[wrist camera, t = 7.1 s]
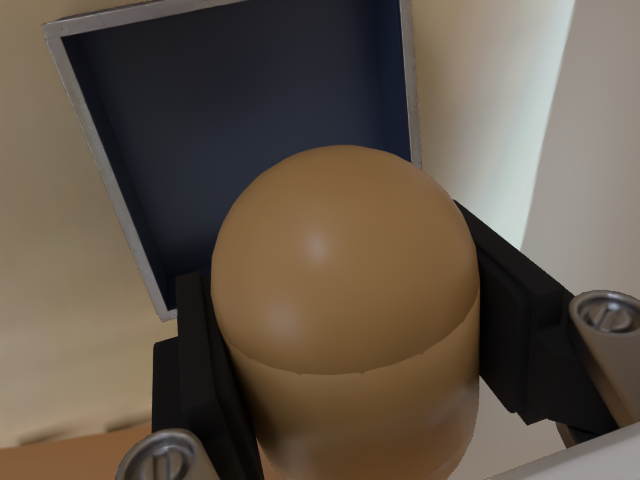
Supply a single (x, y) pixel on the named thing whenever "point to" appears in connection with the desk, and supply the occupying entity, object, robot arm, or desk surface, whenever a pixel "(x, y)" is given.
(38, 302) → the desk surface
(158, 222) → the square open-top storage box
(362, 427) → the potato
